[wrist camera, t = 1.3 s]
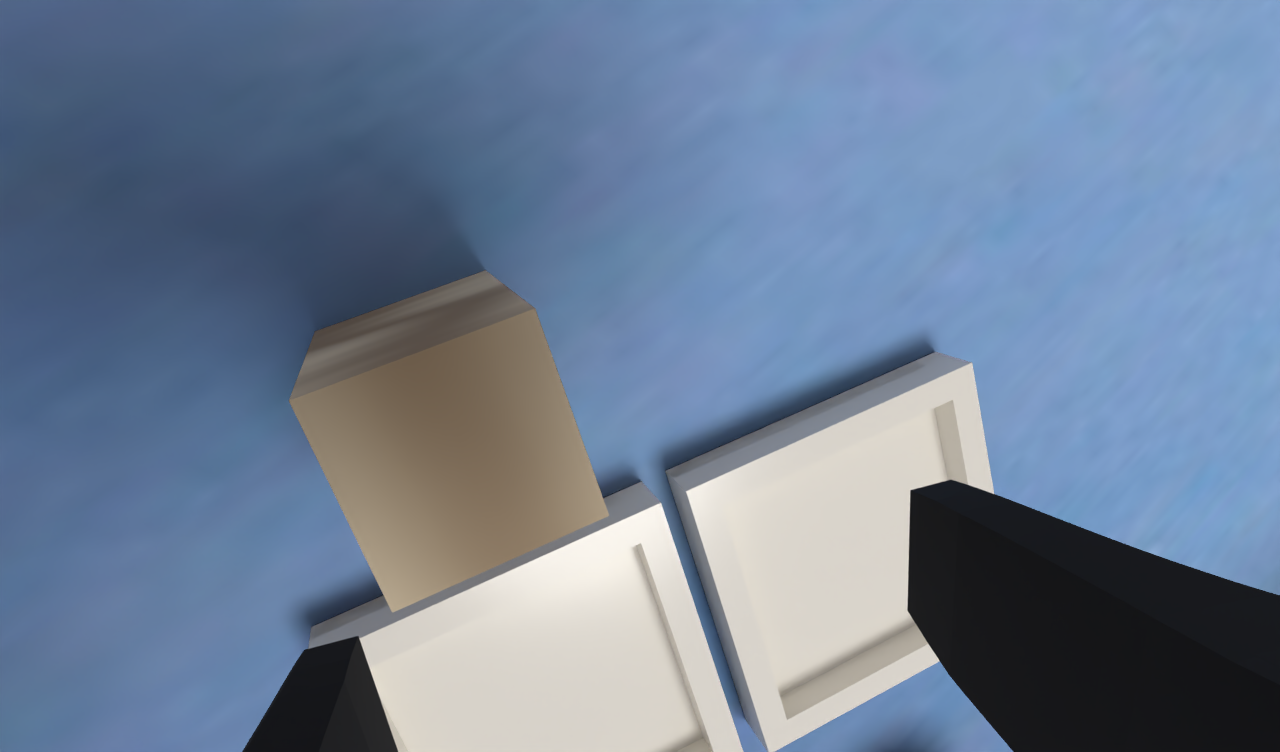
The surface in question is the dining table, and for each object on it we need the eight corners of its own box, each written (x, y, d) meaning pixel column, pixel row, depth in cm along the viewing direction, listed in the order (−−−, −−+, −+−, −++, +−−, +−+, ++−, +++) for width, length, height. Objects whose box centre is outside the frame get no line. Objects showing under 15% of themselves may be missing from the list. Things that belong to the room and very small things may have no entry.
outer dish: (746, 721, 24) (769, 754, 22) (665, 470, 21) (686, 491, 20) (980, 596, 26) (1015, 619, 24) (935, 351, 23) (972, 362, 21)
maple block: (386, 485, 19) (391, 612, 13) (314, 331, 17) (288, 401, 12) (541, 421, 20) (609, 516, 14) (485, 270, 18) (534, 308, 13)
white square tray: (446, 880, 22) (451, 928, 20) (311, 626, 19) (306, 662, 17) (725, 731, 24) (747, 765, 22) (641, 481, 21) (661, 502, 19)
